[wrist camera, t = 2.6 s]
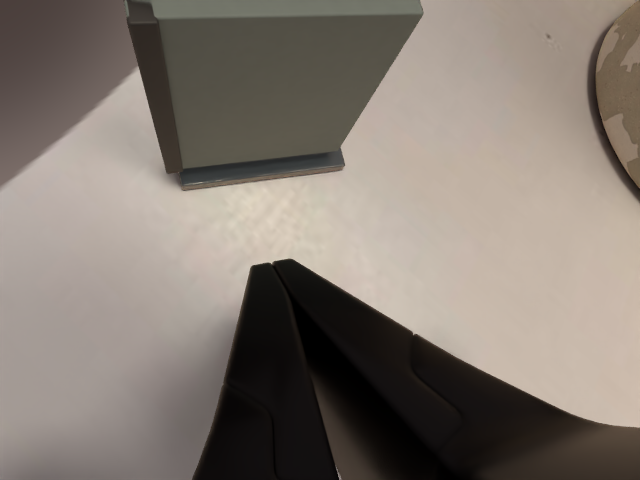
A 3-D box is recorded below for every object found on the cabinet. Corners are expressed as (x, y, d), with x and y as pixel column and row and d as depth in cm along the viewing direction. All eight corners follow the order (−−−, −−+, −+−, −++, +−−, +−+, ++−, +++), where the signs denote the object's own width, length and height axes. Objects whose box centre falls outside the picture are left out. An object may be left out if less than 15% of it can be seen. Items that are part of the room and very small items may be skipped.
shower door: (338, 154, 21) (426, 18, 12) (166, 174, 18) (127, 23, 10) (334, 137, 21) (417, -9, 12) (163, 155, 18) (121, -9, 10)
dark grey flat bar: (342, 170, 22) (345, 165, 21) (182, 191, 20) (181, 186, 19) (335, 142, 22) (338, 136, 22) (176, 159, 20) (175, 153, 19)
